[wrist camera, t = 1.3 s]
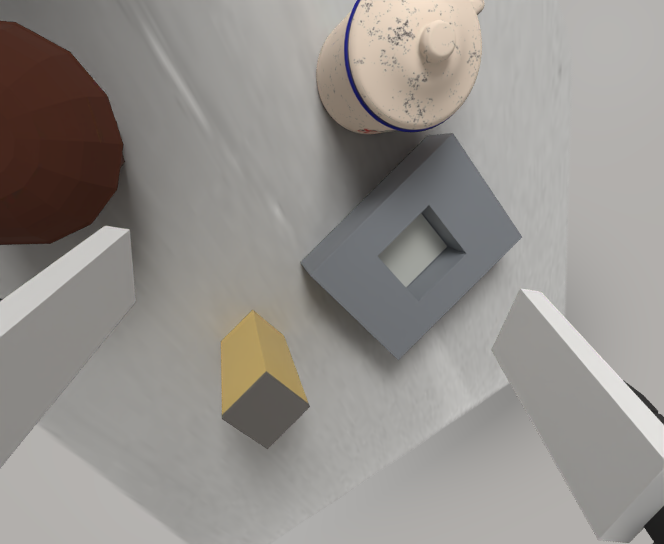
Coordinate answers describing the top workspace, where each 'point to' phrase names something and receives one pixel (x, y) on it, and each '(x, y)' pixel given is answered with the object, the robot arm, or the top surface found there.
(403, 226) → the socket plate
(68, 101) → the muffin
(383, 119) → the teacup with lid
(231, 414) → the plug
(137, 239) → the top surface
